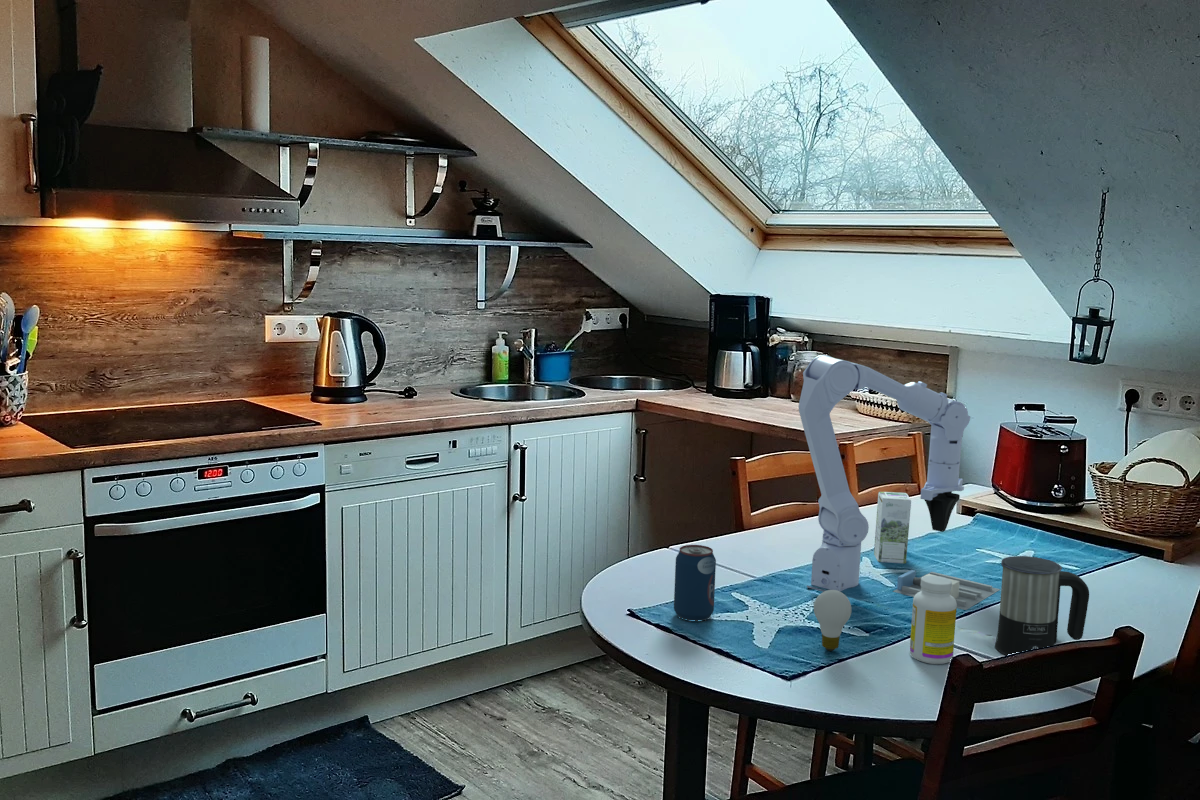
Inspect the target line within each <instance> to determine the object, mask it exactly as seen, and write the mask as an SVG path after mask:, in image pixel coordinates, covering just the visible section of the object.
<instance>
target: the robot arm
mask: <svg viewBox="0 0 1200 800" xmlns="http://www.w3.org/2000/svg"><path fill="white" fill-rule="evenodd" d="M802 375H803V376H802V377H803V384H802V388H801V393H800V398H799V401H798V413H799V417H800V420H801V424H802V427H803V431H804V436H805V438H806V442H807V443H806V444H807V445H808V449H809V453H810V458H811V462H812V464H813V469H814V473H815V475H816V479H817V483H818V487H819V490H820V494H821V496H819V498H818V500H817V501H818V506H819V511H818V515H817V516H818V524H819V526H820V527H821V529H822V530H823V533H822V540H821V544H820V547H819V548H817V550H815V552H813V555H812V560H811V561H812V563H811V578H810V580H811V581H810V585H811V586H810V585H806V588H809V589H813V590H815V591H816V590H817V591H820V592H824V591H827V590H837V591H840V592H842V591H844V590H847V589H850V588H856V587H857V586H858V585H859V582H860V581H859V580H860V568H861V567H860V565H861V554H862V553H861V552H862V551H861V550H862V542H863V541H864V540H865V539H866V537H867V536H868V534H869V526H870V525H869V522H868V519H867V518H866V517H865V515H864V514H863V513H862V512H861V511H860V507H859V504H858V502H857V500H856V499H855V498H854V496H853V495H852V493H851V491H850V487H849V483H848V480H847V475H846V472H845V471H846V470H845V467H844V464H843V460H842V456H841V453H840V449H839V446H838V442H837V439H836V432H835V431H834V426H833V423H832V419H831V415H830V414H831V411H832V410H833V409H834V408H835V406H836V405H837V404H838V403H839V402H840V401H842V400H843V399H844V398H845V397H846V396H848V395H849V394H850V393H852V392H853V391H854V390H858V391H859V390H862V389H864V388H867V389H869V390H872V391H874V392H877V393H880V394H882V395H884V396H887V397H890V398H892V399H893V400H895V401H896V403H897V406H898V408H899V410H901V411H903V412H905V413H907V414H910V415H912V416H914V417H916V418H919V419H921V420H923V421H925V422H927V423H928V424H930V426H931V427H930V428H931V429H930V438H929V452H928V465H927V478H926V482H925V483H924V486H923V487H922V488H921V489H920V500H923V501H924V502H925V505H926V506H927V508H928V512H929V517H930V523H931V528H932V530H933V531H938V532H940V533H943V532H945V531H946V530H947V527H948V525H949V521H950V518H951V515H952V512H953V510H954V509H955V506H956V504H957V503H958V501H959V500H960V494H959V493H955V492H962V491H964V489H965V486H963V482H964V481H963V480H964V479H963V478H962V477H961V478H959V477H960V465H961V455H962V454H961V453H962V444H963V441H962V440H963V438H964V431H965V429H966V428H967V427H968V425H969V423H970V421H971V416H970V415H969V413H968V409H967V407H966V405H965V404H964V403H962V402H960V401H957V400H953V399H950V398H948V394H947V393H945V392H942V391H941V392H937V391H935V390H932V389H930V388H928V387H927V386H928V383H925V382H923V381H918V382H915V381H911V382H908V383H905V384H903V383H901V382H899V381H897V380H896V379H893V378H892V377H891V378H890V376H887V375H885V374H883V373H881V372H879V371H878V370H876V369H875V370H874V369H873V368H871V367H869V366H866V365H863V364H860V363H859V364H858V363H856V362H851V361H848V360H844V359H840V358H835V357H832V356H830V355H827V354H820V355H817V356H815V357H814V358H813V359H812V360H811V361H810V362H809V363H808V365H807V367H806V368H805V369H804V371H803V372H802ZM818 587H819V588H818ZM822 588H823V589H822Z"/></svg>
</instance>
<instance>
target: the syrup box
mask: <svg viewBox="0 0 1200 800" xmlns="http://www.w3.org/2000/svg"><path fill="white" fill-rule="evenodd" d="M876 509H877V510H876V520H875V521H876V523H875V532H874V533H875V536H874V548H873V549H874V550H873V555H874V557H875V558H876V560H877V562H879V563H893V564H907V556H908V555H907V554H908V546H909V545H908V543H909V532H910V523H911V522H910V519H911V509H912V500H911V498H910V496H909V495H908V493H906V492H893V491H878V494H877V507H876Z"/></svg>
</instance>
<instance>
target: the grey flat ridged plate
mask: <svg viewBox="0 0 1200 800" xmlns="http://www.w3.org/2000/svg"><path fill="white" fill-rule="evenodd" d="M916 574H917V571H916V570H914V569H911V570H908V571H906V572H904V573H903V574H901V575H899V576H898V577H897V586H896V587H897V588H896V589H894V590H892V592H893V593H897V594H900V595H905V596H907V597H908V596H909V597H913V598H914V596H915V595H916V594H917V593H918V592H920V591H922V590H921V586H918V585H914V584H913V579H914V577H916ZM927 574H931V575H936V576H941V577H945V578H948V579H952V580H957V581H960V583H959V595H958V597H957V598H955V600H956V603H957V609H960V610H964V611H967V610H969V609H970V608H972V607H973V606H975V605H977V604H979V603H980V602H982V601H983V600H985V599H987V598H989V597H991V596H993V595H994V594H995V593H998V592H999V591H1001V588H997V587H993V585H990V584H985V583H981V582H977V581H972V580H969V579H966V578H960V577H958V576H957V577H956V576H951V575H949V574H943V573H939V572H935V571H930V572H928V573H926V574H924V575H922V576H921V577H919V578H922V577H923V576H925V575H927Z"/></svg>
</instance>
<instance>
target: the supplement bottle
mask: <svg viewBox="0 0 1200 800" xmlns="http://www.w3.org/2000/svg"><path fill="white" fill-rule="evenodd" d="M923 576H924V575H923ZM921 577H922V576H921ZM920 585H921V588H922V591H920V592H918V593H917V594H916V595H915V596H914V597H913V599H912V611H911V627H910V639H909V654H910V656H911V657H912V658H913V659H915V660H917V661H920V662H921V663H925V664H929V665H943V664H947V663H950V662H951V661H950V659H951V658H952V657H953V658H954V651H955V650H954V648H955V647H954V645H955V634H956V633H955V631H956V620H957V609H958V608H957V603H956V600H955V598H954V597H953V596H951V595H950V591H951V589H952V581H951V580H950V579H948V578H945V577H941V576H924V577H922V578H921V584H920ZM953 658H952V659H953ZM949 661H950V662H949Z"/></svg>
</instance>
